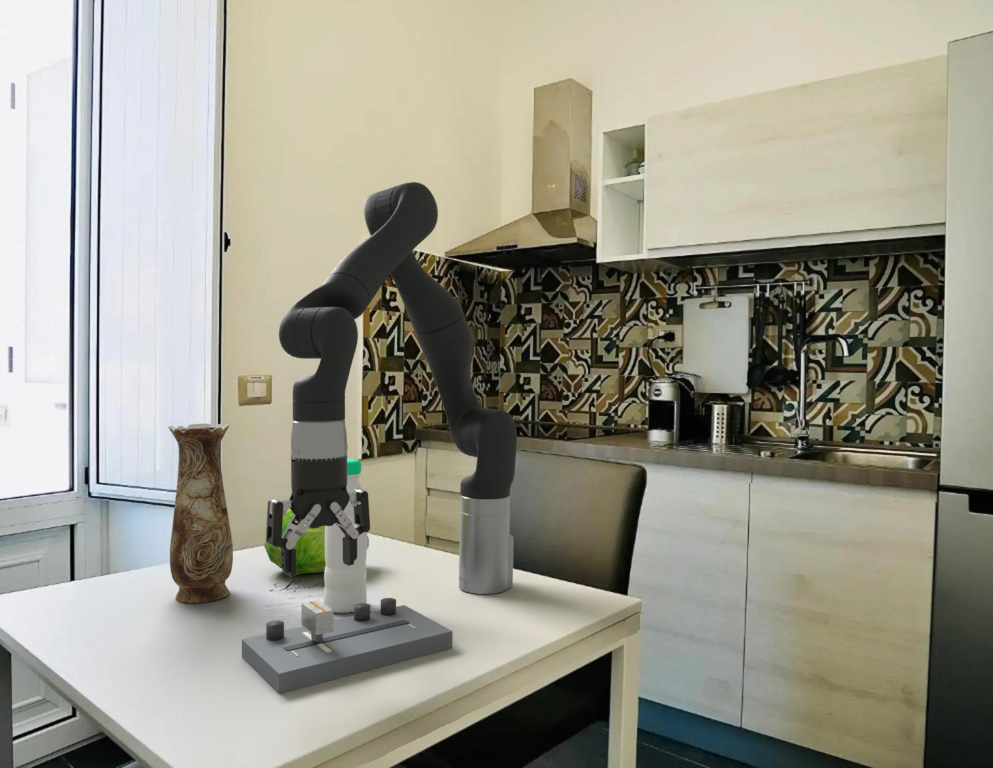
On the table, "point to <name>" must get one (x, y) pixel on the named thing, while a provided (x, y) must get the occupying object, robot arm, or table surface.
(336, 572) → the water bottle
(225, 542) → the vase
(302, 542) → the lettuce
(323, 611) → the fader
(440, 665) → the table surface
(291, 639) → the console
